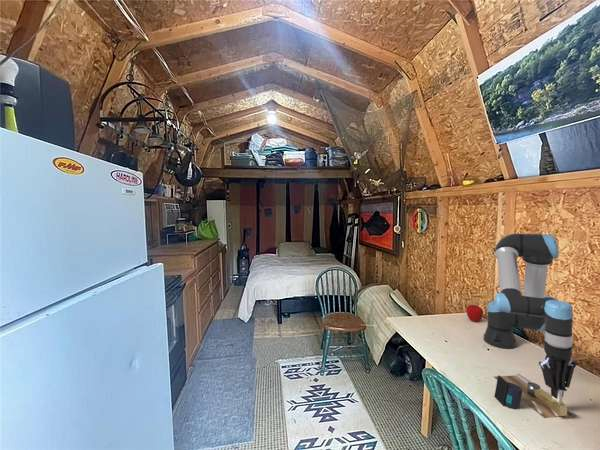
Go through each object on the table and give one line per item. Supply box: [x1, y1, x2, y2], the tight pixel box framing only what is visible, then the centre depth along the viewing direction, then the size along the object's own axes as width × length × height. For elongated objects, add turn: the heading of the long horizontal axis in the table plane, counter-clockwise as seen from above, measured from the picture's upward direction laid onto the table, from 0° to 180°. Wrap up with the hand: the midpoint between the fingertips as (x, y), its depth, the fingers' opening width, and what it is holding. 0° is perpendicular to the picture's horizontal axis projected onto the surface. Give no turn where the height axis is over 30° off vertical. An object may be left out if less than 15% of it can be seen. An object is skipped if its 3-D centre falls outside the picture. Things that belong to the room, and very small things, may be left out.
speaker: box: [493, 374, 523, 410], centre depth 109 cm, size 8×6×10 cm
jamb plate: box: [493, 373, 577, 419], centre depth 115 cm, size 12×25×2 cm, turn 3°
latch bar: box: [527, 381, 568, 416], centre depth 109 cm, size 15×4×4 cm, turn 179°
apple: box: [465, 304, 484, 323], centre depth 190 cm, size 10×10×11 cm
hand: (557, 404), depth 106 cm, fingers closed
